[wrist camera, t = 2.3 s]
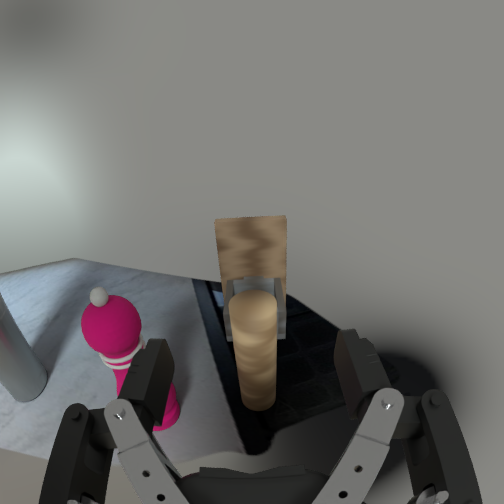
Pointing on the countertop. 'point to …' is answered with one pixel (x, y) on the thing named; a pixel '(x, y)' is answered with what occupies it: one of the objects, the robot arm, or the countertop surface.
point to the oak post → (255, 346)
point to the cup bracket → (253, 261)
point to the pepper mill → (119, 340)
